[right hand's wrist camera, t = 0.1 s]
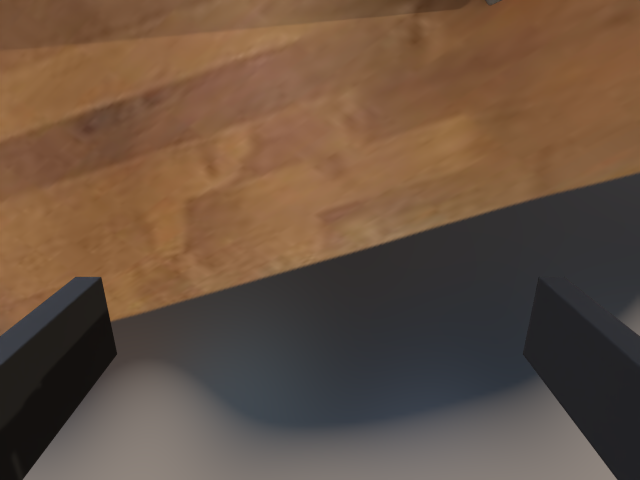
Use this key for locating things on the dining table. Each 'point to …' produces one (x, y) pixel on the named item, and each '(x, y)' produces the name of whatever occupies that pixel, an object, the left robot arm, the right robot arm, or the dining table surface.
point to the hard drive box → (492, 1)
